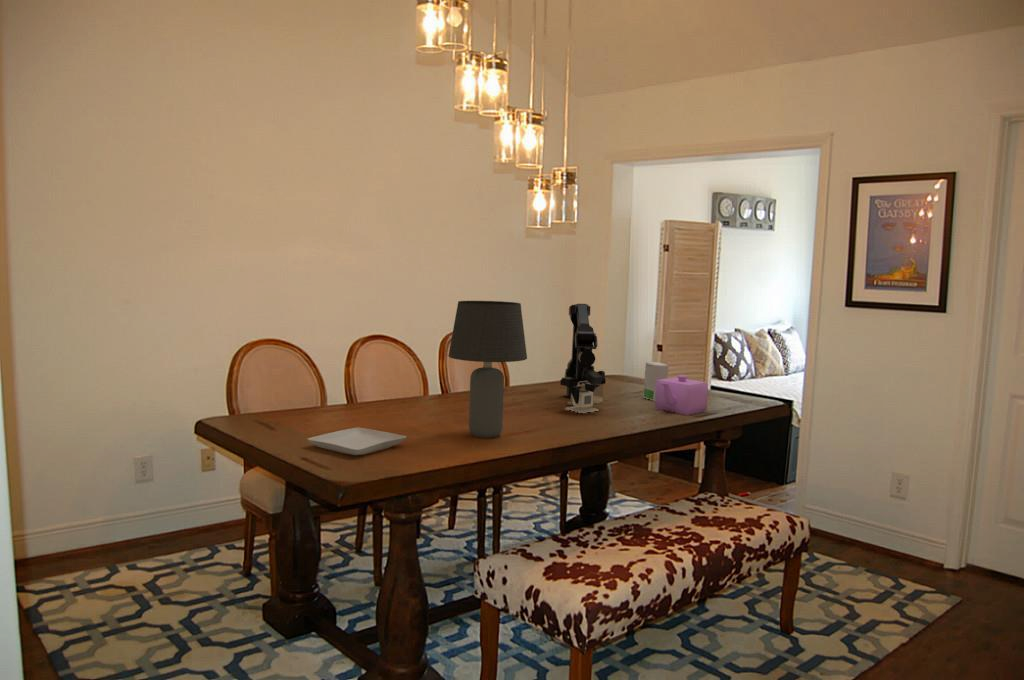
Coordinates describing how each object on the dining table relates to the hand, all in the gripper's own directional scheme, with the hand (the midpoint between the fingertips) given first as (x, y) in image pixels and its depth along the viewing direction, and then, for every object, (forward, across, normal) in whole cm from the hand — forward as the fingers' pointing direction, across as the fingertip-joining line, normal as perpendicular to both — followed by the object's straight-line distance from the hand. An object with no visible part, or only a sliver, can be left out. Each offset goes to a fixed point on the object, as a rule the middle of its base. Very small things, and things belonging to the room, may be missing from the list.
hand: (582, 402), depth 293 cm
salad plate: (+3, -99, -11) cm, 100 cm away
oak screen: (+3, +11, +10) cm, 15 cm away
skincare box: (+3, +45, +4) cm, 45 cm away
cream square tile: (+3, 0, 0) cm, 3 cm away
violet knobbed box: (+3, +35, -18) cm, 39 cm away
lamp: (+3, -57, -17) cm, 60 cm away
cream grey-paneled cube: (+1, 0, 0) cm, 1 cm away
